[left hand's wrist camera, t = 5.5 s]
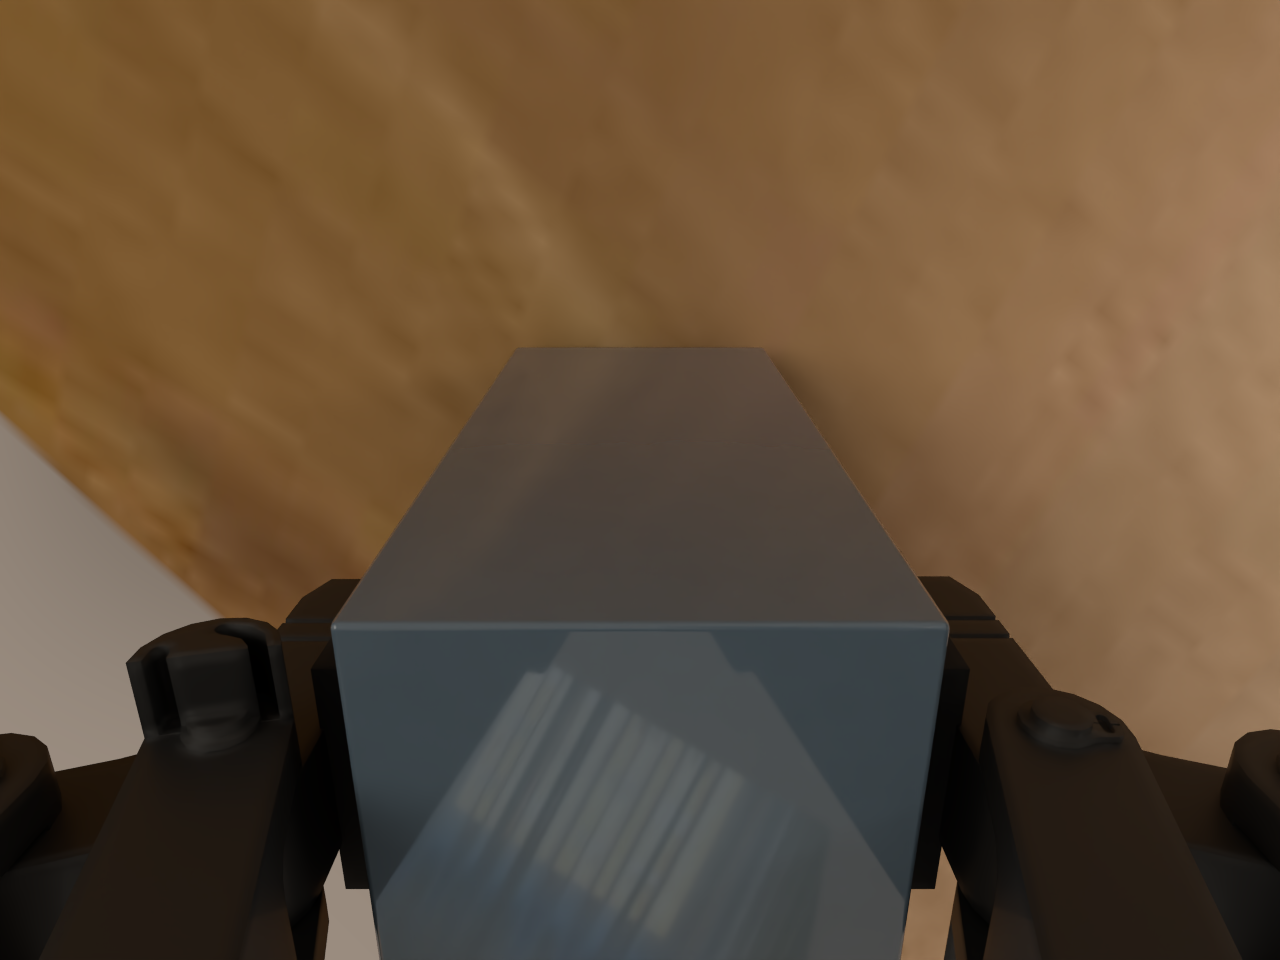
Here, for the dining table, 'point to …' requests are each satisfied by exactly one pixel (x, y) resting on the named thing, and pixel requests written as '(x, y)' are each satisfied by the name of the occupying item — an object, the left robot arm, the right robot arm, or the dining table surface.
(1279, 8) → the dining table surface
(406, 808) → the block
